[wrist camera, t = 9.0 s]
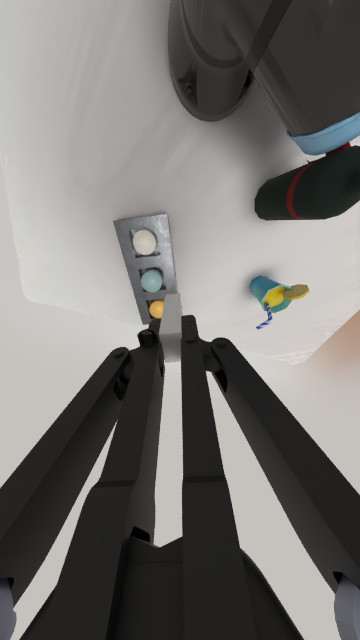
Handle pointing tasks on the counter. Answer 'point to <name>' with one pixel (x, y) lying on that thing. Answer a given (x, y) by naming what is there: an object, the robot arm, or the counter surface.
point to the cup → (275, 295)
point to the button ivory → (144, 242)
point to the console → (148, 259)
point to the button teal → (152, 280)
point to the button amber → (157, 308)
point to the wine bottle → (313, 188)
